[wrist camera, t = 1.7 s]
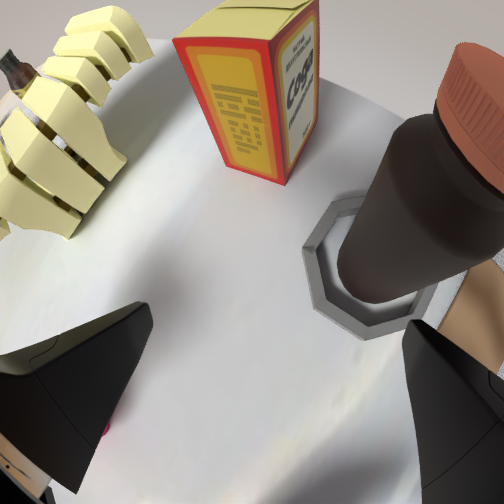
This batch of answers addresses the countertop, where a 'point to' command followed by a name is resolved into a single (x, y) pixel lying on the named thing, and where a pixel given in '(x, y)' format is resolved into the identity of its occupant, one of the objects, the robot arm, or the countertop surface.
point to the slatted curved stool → (67, 125)
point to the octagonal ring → (317, 289)
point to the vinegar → (434, 189)
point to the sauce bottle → (17, 73)
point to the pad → (479, 315)
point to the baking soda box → (256, 80)
